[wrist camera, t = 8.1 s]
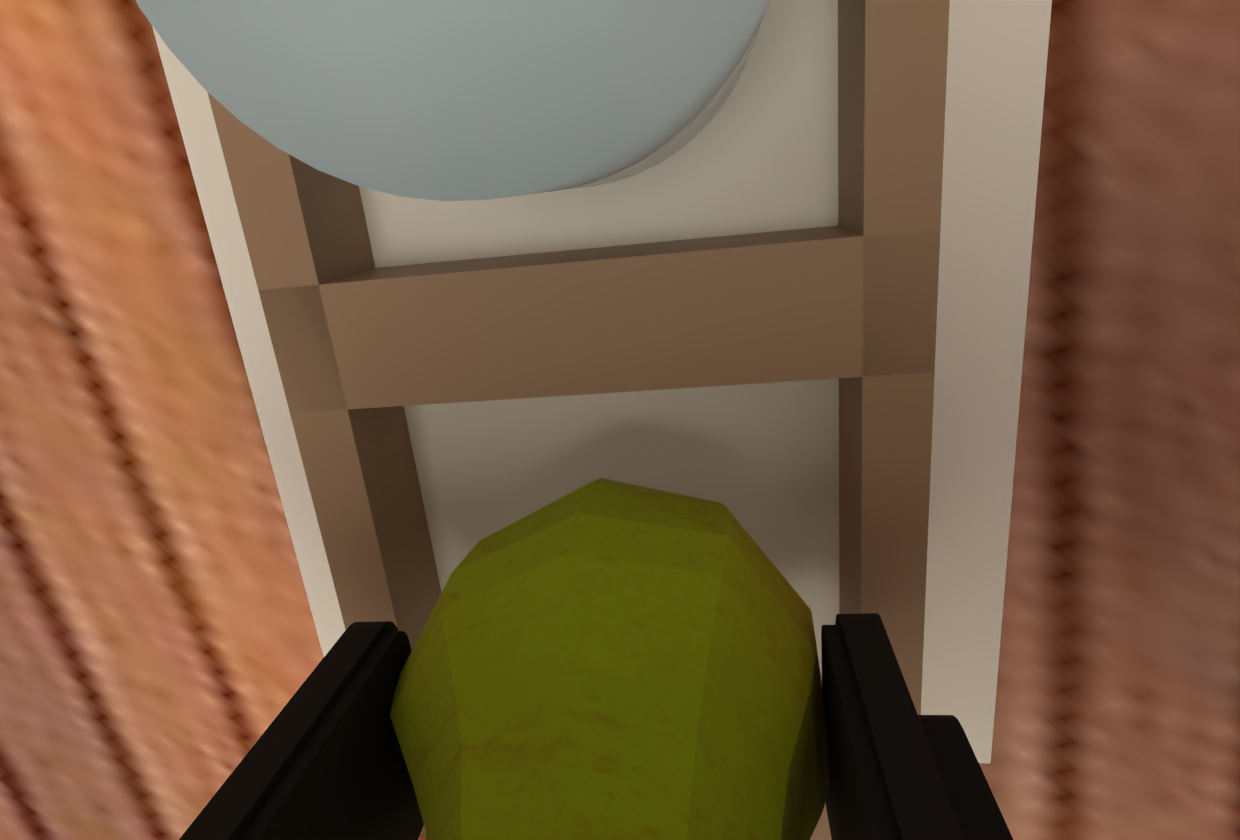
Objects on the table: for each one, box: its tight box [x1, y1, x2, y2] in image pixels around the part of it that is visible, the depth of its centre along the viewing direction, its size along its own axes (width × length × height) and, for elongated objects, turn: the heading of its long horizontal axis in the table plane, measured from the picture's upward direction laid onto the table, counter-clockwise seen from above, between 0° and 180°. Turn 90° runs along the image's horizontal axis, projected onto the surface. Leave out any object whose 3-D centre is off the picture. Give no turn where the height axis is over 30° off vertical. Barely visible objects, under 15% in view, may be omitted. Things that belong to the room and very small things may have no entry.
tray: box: [152, 0, 1052, 840], centre depth 12 cm, size 14×20×3 cm
